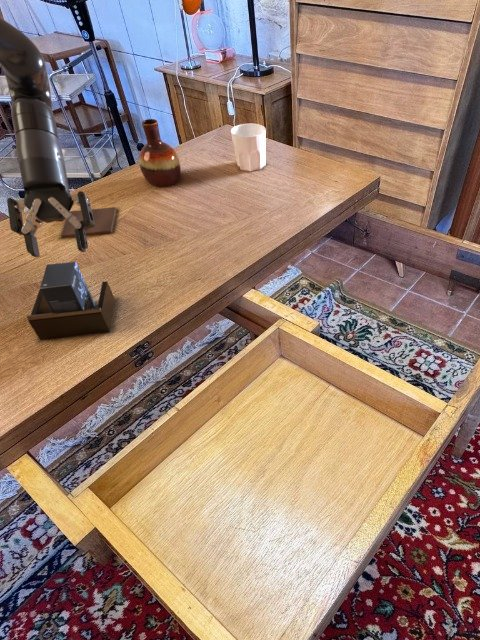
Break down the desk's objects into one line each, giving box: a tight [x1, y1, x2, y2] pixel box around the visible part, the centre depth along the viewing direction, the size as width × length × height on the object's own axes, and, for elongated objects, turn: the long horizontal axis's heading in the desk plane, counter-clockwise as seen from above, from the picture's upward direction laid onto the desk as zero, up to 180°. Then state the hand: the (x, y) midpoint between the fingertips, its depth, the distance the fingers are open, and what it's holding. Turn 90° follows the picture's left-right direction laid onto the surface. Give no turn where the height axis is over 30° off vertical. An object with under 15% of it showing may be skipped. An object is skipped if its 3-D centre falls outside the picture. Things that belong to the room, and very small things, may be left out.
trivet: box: [60, 206, 117, 239], centre depth 113 cm, size 12×12×1 cm
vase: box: [138, 118, 182, 188], centre depth 122 cm, size 11×11×15 cm
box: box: [39, 261, 96, 313], centre depth 86 cm, size 8×6×11 cm
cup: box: [230, 123, 267, 173], centre depth 130 cm, size 10×10×10 cm
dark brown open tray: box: [26, 280, 116, 341], centre depth 87 cm, size 13×10×6 cm
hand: (58, 253), depth 83 cm, fingers open, 8 cm apart
